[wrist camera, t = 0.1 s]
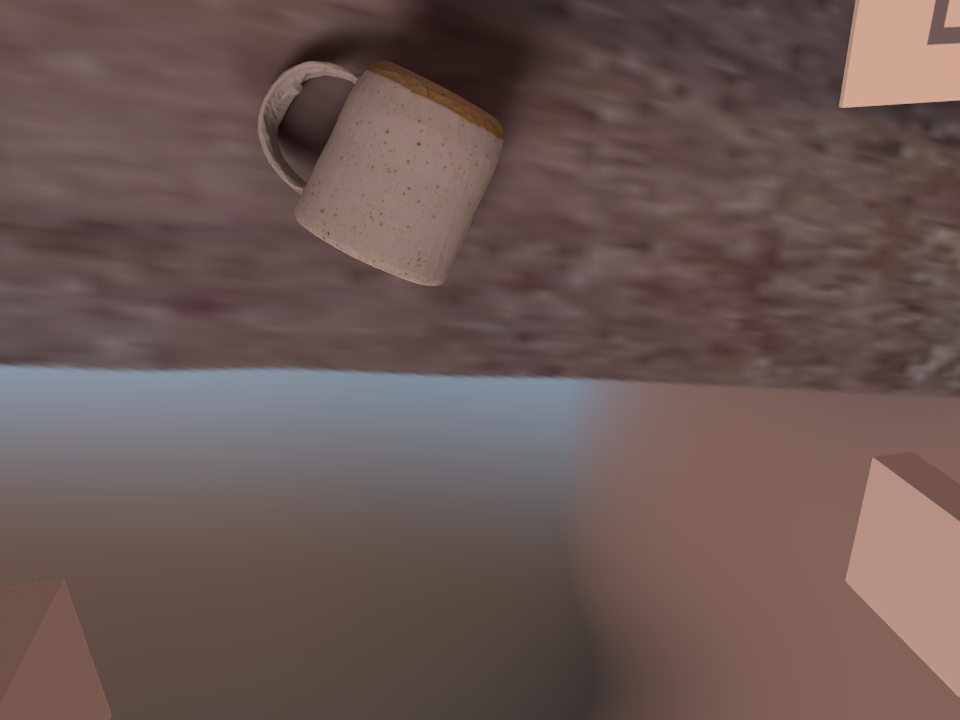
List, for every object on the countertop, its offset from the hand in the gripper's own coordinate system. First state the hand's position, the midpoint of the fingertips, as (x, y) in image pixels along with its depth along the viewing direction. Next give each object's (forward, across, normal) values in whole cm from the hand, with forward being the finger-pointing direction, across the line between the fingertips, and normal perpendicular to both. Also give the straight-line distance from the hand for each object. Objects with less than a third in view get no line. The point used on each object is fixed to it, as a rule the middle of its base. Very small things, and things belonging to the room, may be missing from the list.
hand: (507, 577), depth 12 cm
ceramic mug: (+28, 0, +3) cm, 28 cm away
